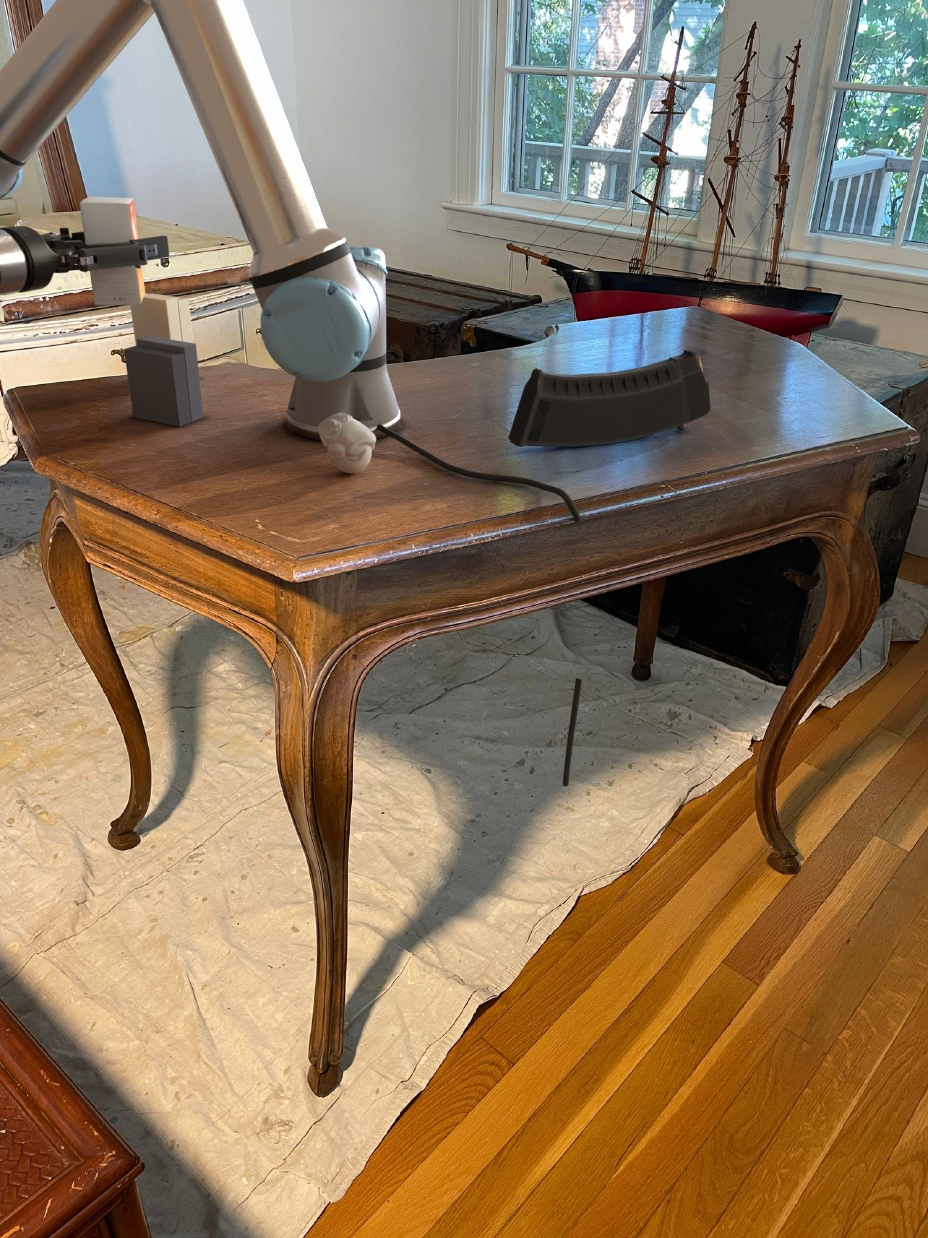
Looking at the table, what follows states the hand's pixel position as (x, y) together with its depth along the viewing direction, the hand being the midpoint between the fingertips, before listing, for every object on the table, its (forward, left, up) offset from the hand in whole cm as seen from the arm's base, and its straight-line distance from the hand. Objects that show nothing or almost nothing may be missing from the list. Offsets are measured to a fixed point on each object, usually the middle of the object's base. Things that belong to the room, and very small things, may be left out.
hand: (137, 242), depth 130 cm
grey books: (-13, +12, -20) cm, 27 cm away
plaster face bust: (-45, +17, -20) cm, 52 cm away
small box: (0, +5, -7) cm, 9 cm away
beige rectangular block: (0, -3, -20) cm, 20 cm away
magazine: (-69, -11, -20) cm, 73 cm away
